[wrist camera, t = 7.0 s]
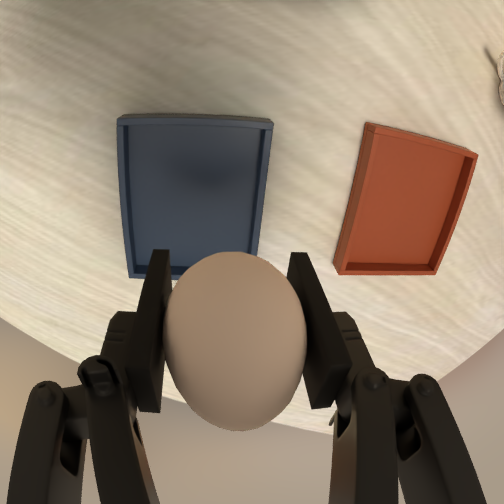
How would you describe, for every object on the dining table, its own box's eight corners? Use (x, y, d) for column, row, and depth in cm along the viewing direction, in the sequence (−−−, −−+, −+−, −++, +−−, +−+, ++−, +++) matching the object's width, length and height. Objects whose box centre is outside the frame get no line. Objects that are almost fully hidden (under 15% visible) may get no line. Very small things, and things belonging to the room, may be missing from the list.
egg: (300, 232, 15) (363, 375, 8) (270, 320, 17) (297, 455, 11) (178, 213, 13) (149, 365, 7) (167, 309, 16) (153, 451, 10)
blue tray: (123, 114, 23) (116, 118, 22) (269, 118, 25) (273, 123, 23) (132, 266, 31) (128, 278, 30) (251, 269, 33) (253, 282, 31)
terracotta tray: (365, 121, 26) (375, 126, 24) (466, 148, 28) (478, 154, 26) (332, 263, 34) (338, 275, 32) (427, 265, 36) (435, 275, 34)
